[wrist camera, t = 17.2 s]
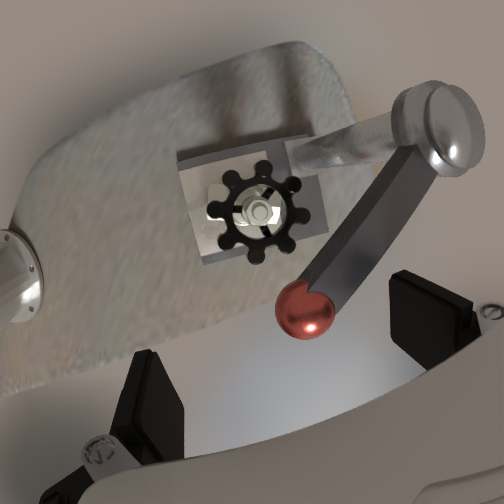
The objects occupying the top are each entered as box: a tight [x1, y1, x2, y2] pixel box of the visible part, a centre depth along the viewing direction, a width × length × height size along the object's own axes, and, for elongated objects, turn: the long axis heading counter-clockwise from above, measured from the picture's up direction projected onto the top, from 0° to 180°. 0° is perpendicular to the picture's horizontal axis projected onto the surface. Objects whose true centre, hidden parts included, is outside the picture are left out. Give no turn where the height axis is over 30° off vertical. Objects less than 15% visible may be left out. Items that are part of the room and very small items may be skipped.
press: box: [176, 85, 485, 265], centre depth 20 cm, size 15×11×23 cm
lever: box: [275, 80, 469, 340], centre depth 11 cm, size 13×4×2 cm, turn 141°
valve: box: [206, 160, 311, 265], centre depth 24 cm, size 7×7×12 cm
